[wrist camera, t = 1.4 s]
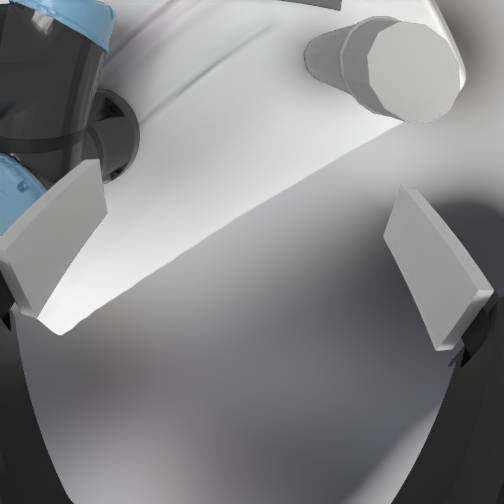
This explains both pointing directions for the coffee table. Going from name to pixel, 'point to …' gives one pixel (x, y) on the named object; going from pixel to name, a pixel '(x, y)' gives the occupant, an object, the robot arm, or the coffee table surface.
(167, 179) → the coffee table surface
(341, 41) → the water bottle
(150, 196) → the coffee table surface
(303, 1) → the coaster mat
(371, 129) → the coffee table surface
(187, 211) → the coffee table surface
